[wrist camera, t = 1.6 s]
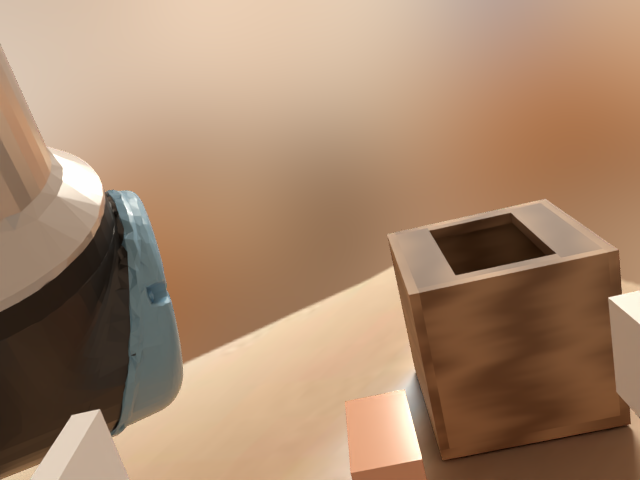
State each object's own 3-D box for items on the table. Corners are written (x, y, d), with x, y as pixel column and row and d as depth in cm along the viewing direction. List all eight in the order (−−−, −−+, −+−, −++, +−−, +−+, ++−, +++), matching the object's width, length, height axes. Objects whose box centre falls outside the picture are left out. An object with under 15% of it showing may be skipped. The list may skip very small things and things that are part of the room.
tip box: (442, 460, 37) (409, 295, 33) (414, 368, 48) (387, 234, 44) (630, 424, 36) (618, 249, 32) (560, 338, 47) (545, 198, 43)
